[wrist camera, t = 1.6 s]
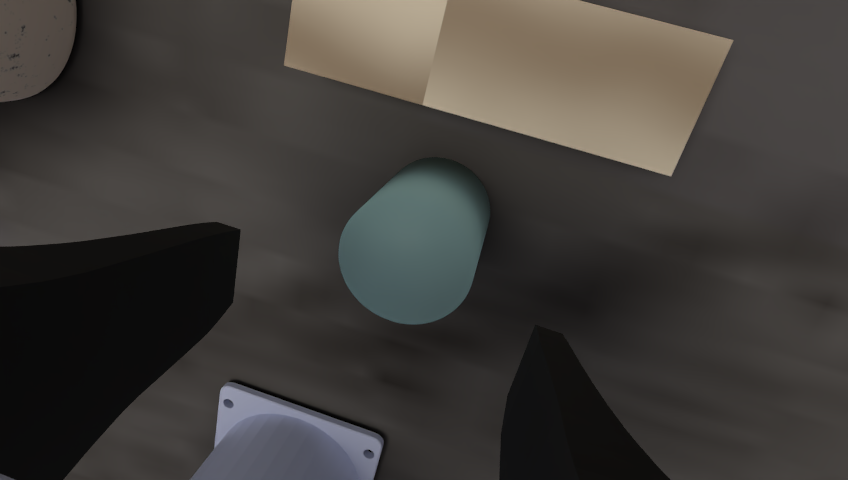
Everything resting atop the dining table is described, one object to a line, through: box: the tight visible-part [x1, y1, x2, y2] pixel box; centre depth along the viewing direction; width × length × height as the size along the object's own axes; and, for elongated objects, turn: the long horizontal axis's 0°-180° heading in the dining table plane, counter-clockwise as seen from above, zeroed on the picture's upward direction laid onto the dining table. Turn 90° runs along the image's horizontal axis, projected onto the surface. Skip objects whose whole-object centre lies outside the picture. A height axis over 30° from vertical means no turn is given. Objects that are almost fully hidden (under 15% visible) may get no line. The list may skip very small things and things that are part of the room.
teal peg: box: [338, 157, 490, 324], centre depth 17 cm, size 4×4×5 cm
